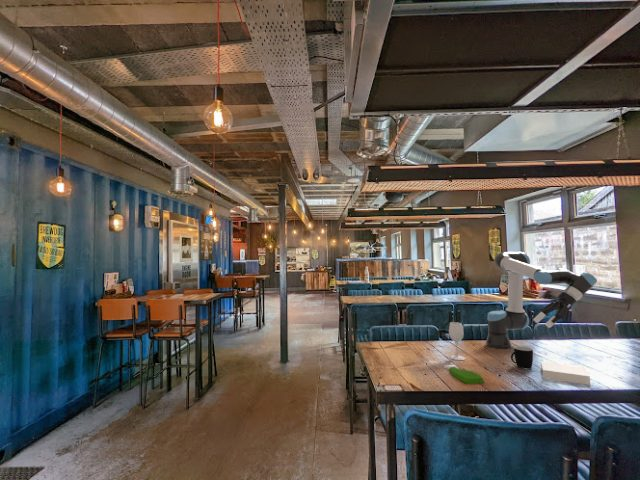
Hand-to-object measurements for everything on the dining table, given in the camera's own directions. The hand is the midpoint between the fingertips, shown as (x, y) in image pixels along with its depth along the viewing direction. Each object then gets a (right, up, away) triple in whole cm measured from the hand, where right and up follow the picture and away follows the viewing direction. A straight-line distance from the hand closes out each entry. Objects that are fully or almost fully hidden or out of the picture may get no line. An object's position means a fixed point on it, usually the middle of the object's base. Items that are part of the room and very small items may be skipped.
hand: (540, 323), depth 173 cm
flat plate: (+2, -23, -14) cm, 27 cm away
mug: (-10, -24, 0) cm, 26 cm away
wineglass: (-38, -26, +18) cm, 49 cm away
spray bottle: (-48, -25, -10) cm, 55 cm away
